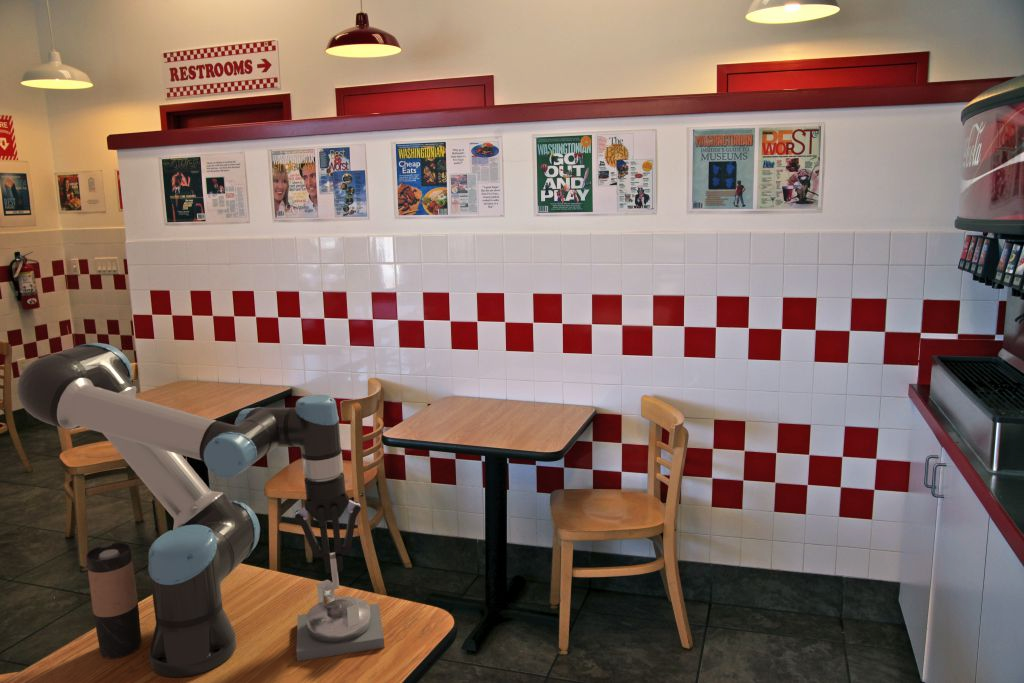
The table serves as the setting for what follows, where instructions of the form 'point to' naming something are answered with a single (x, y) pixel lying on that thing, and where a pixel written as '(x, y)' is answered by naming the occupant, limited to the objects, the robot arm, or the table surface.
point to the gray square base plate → (318, 649)
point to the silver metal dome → (337, 616)
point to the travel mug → (114, 599)
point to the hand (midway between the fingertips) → (335, 585)
